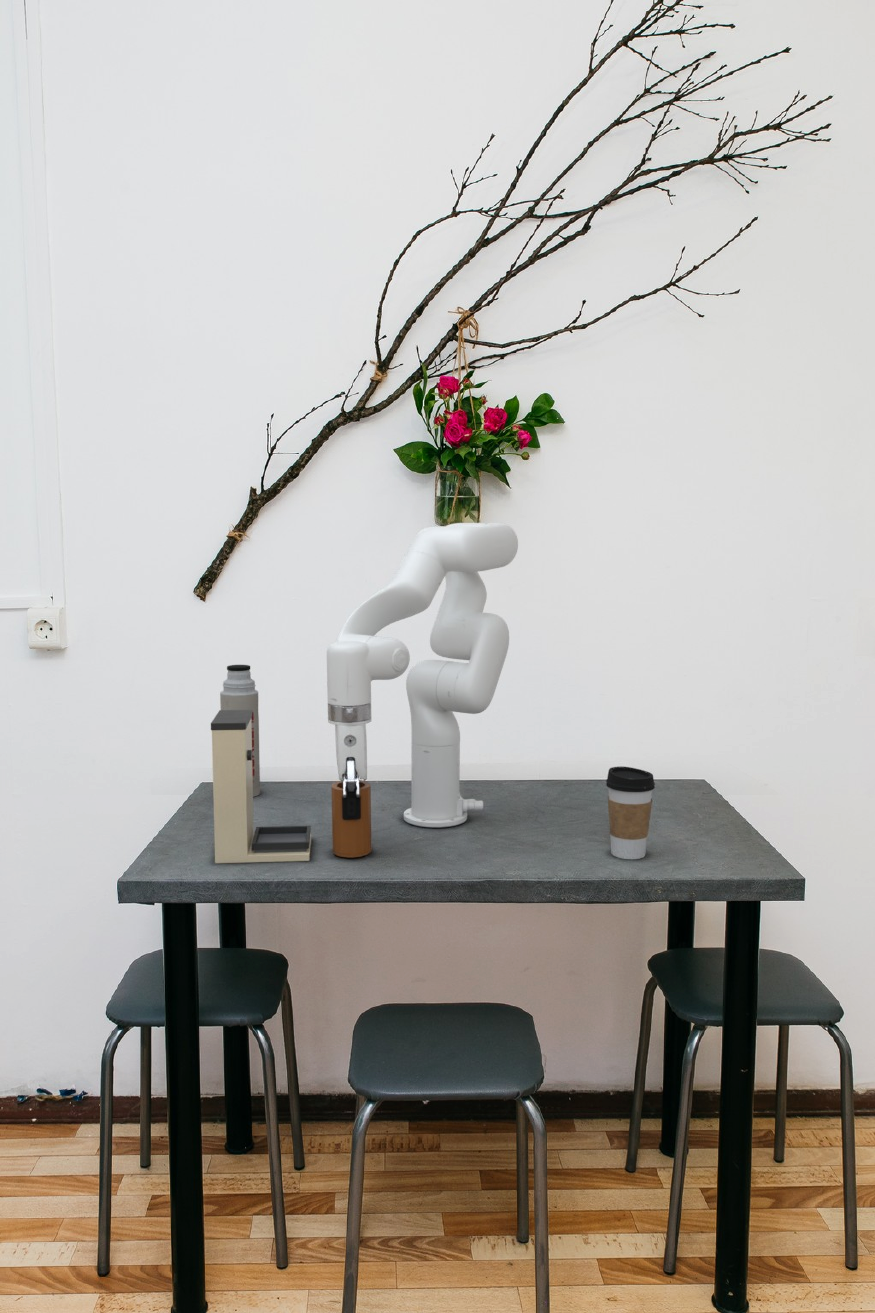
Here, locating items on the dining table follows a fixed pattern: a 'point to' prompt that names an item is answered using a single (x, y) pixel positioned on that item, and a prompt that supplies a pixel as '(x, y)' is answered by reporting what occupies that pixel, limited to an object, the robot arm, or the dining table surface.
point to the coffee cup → (629, 810)
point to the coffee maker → (245, 800)
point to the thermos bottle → (244, 697)
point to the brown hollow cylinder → (351, 823)
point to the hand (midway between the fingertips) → (351, 811)
